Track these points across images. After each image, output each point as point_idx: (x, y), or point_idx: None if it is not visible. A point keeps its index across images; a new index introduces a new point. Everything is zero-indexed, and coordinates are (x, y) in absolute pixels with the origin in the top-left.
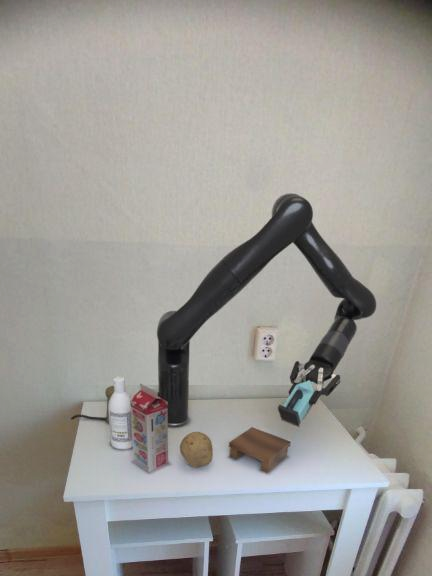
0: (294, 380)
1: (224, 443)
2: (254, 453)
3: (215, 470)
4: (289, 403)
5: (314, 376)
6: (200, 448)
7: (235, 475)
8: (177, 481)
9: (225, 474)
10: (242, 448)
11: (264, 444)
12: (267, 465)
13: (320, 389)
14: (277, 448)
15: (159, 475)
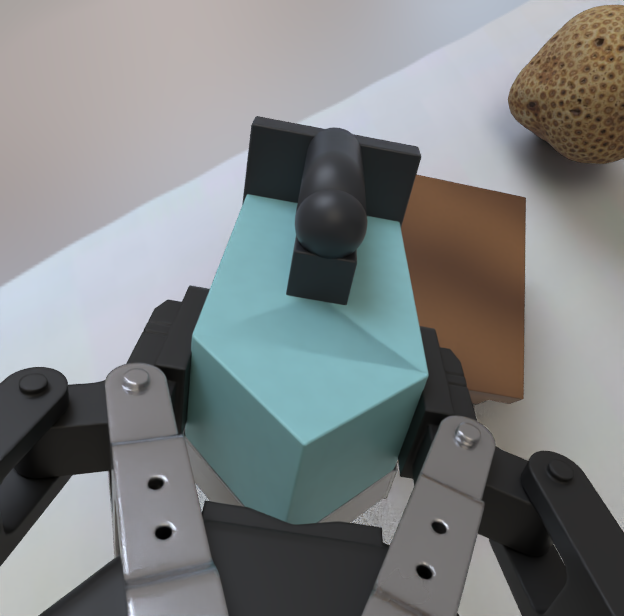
0: (492, 436)
1: (564, 334)
2: None
3: (476, 138)
4: (349, 142)
5: (268, 542)
6: (571, 20)
7: (399, 139)
8: (537, 37)
9: (433, 130)
10: (451, 184)
11: None
12: None
13: (117, 377)
14: None
15: None
